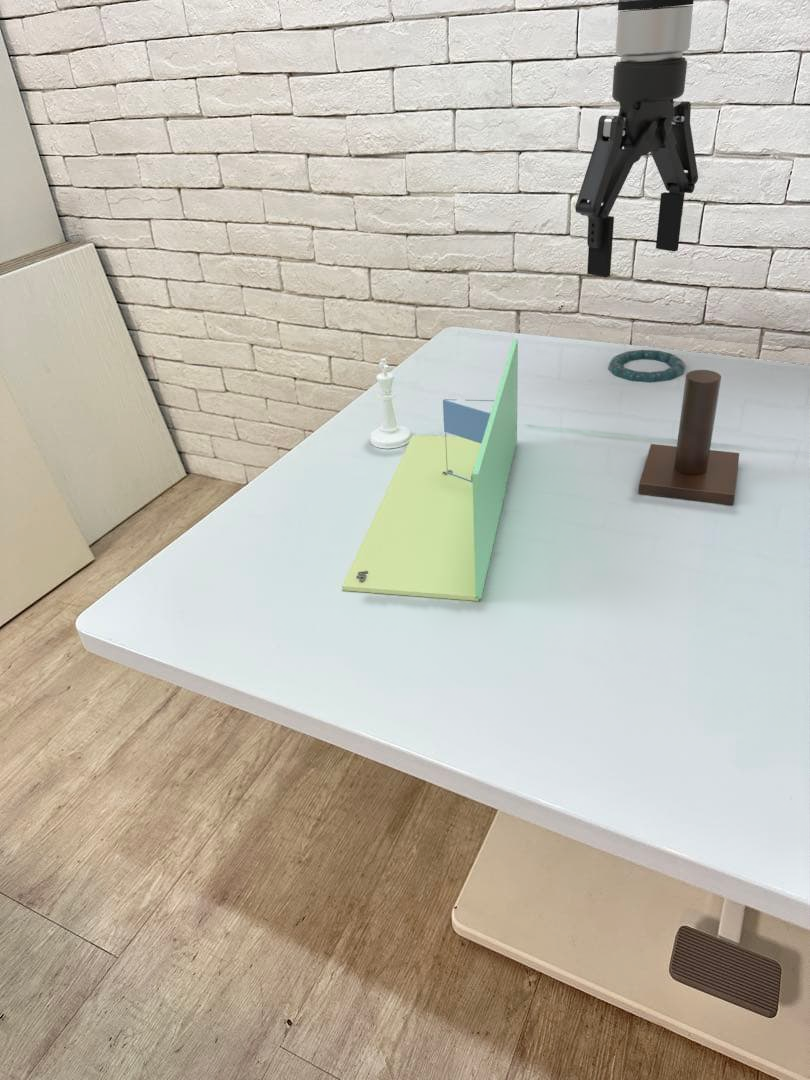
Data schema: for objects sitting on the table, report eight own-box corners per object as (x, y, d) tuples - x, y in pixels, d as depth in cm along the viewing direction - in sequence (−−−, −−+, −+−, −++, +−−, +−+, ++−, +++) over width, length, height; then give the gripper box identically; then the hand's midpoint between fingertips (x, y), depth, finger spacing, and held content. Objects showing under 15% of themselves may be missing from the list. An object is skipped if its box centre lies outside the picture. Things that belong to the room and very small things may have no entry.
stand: (737, 462, 84) (755, 361, 78) (733, 505, 78) (752, 398, 71) (650, 453, 88) (660, 355, 81) (638, 493, 81) (648, 390, 75)
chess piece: (400, 426, 98) (393, 348, 92) (418, 441, 94) (412, 360, 88) (363, 436, 96) (354, 357, 91) (380, 452, 92) (372, 370, 87)
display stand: (481, 601, 68) (478, 474, 61) (342, 590, 71) (324, 467, 64) (517, 442, 92) (517, 338, 85) (412, 438, 95) (405, 337, 88)
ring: (687, 363, 108) (688, 350, 107) (679, 391, 101) (681, 377, 100) (614, 358, 111) (615, 345, 110) (602, 385, 104) (603, 371, 103)
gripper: (686, 47, 93) (667, 236, 105) (545, 69, 81) (541, 281, 92) (746, 45, 89) (718, 243, 100) (606, 68, 76) (593, 292, 87)
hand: (633, 262), depth 96 cm, fingers open, 13 cm apart
